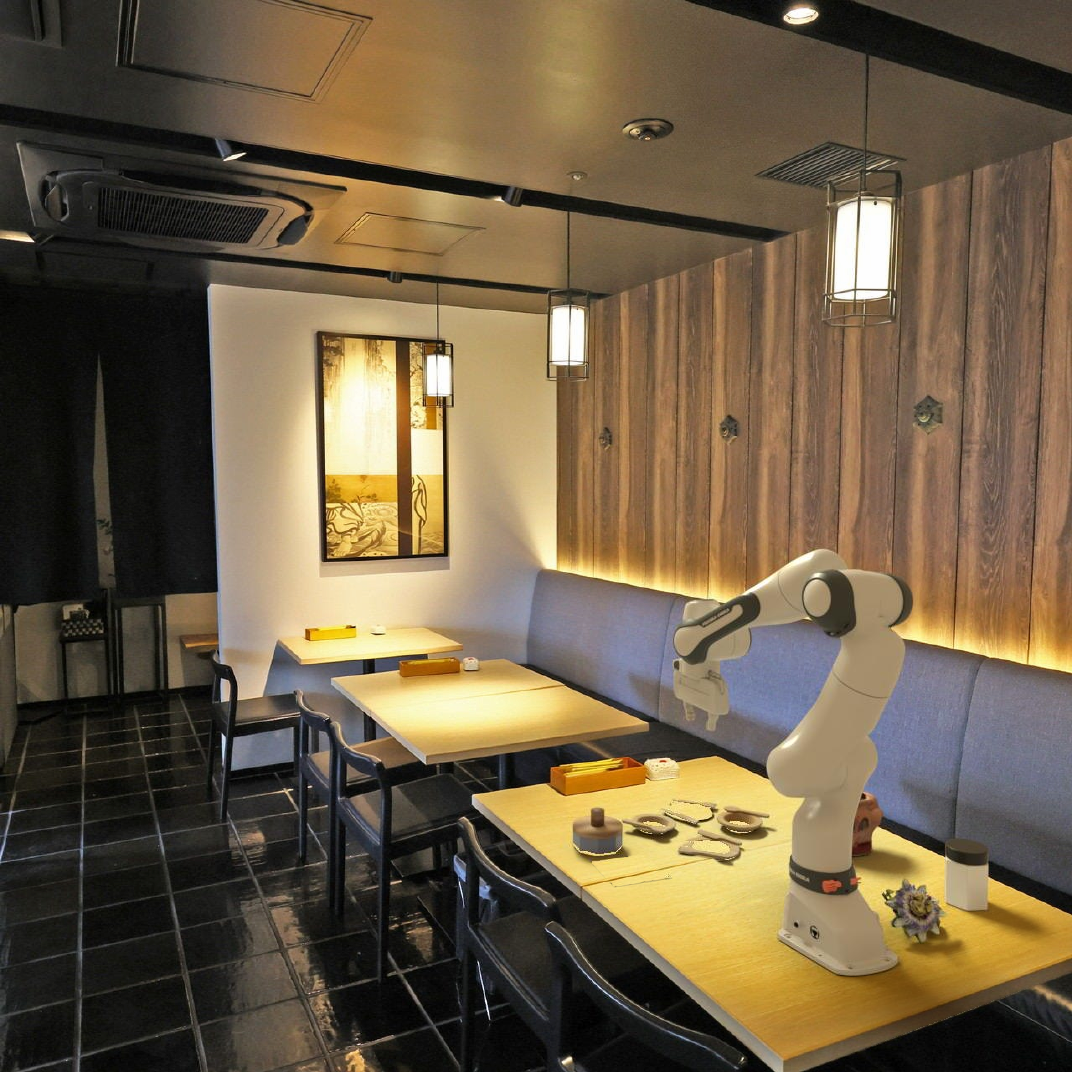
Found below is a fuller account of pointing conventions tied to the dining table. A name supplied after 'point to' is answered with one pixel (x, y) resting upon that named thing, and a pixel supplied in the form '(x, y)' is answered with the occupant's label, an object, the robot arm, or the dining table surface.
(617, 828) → the lid
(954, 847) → the jar
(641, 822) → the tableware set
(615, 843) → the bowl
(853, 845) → the decorative planter
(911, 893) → the passion flower
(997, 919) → the dining table surface
